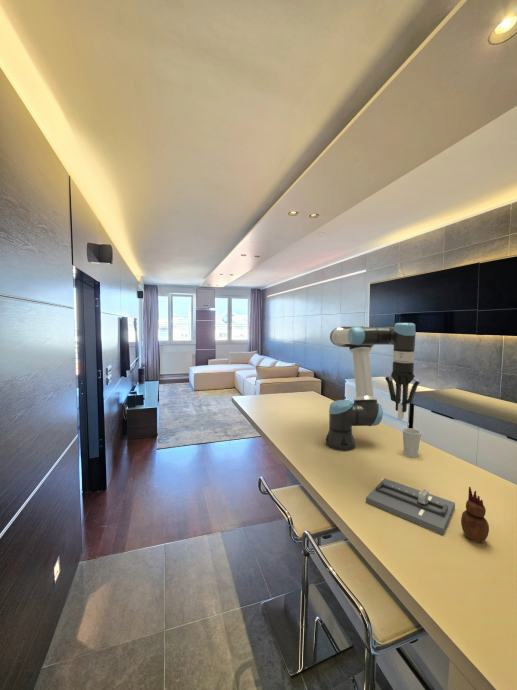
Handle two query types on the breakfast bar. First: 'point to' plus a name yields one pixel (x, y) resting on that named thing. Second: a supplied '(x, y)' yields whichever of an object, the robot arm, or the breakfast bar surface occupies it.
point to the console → (412, 505)
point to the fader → (423, 497)
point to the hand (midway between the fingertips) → (400, 419)
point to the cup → (411, 442)
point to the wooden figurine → (475, 519)
